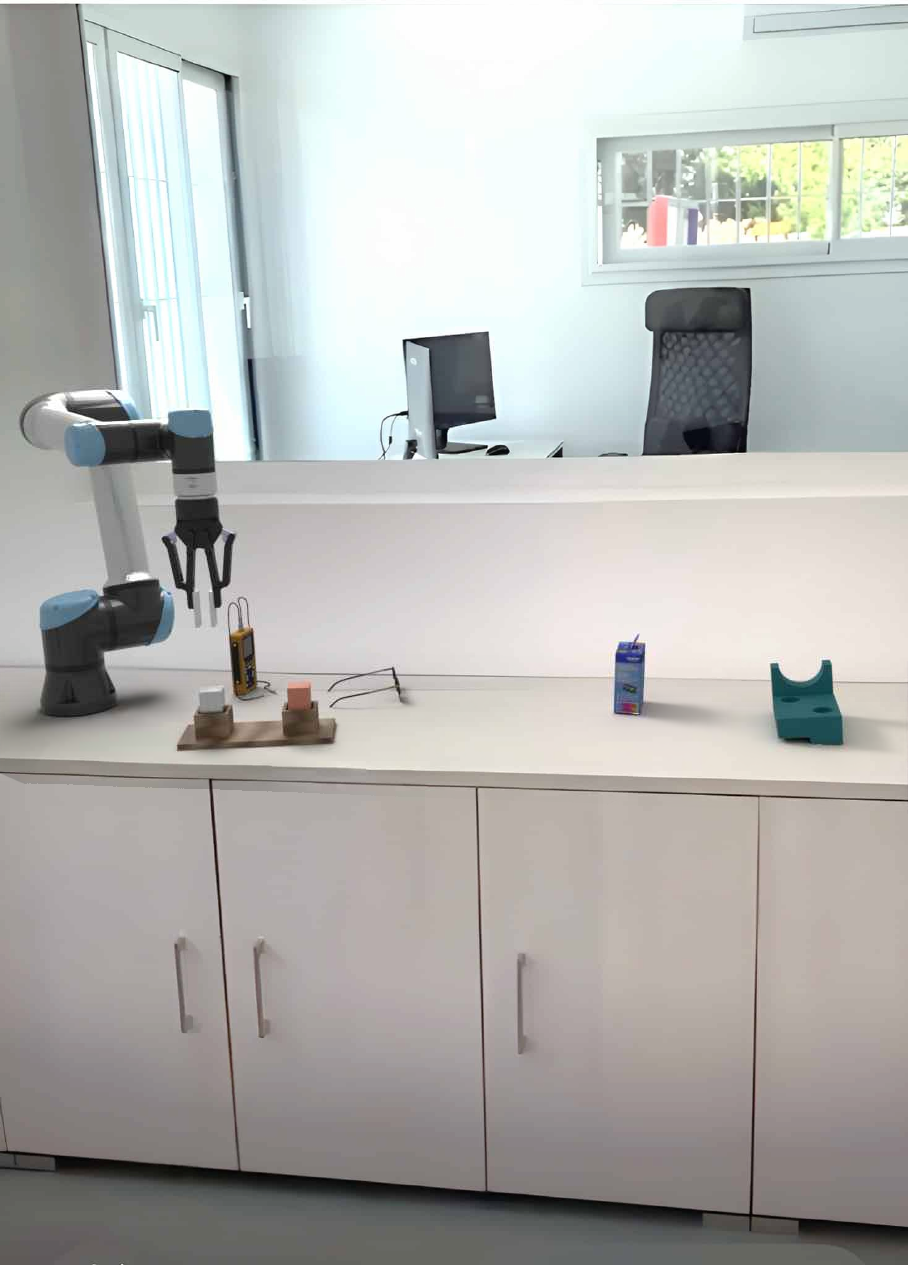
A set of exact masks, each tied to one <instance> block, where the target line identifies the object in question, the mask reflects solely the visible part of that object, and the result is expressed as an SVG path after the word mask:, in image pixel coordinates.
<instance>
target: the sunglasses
mask: <svg viewBox="0 0 908 1265" xmlns="http://www.w3.org/2000/svg"><path fill="white" fill-rule="evenodd" d="M388 671H392V678H393V680H394V685H391V686H388V687H384V688H380V689H376V690H373V691H372V690H371V691H366V692H362V693H356V694H350V695H347V696H343V697H340V698H337V699H336V700H335V701H334V702H333V703H332V704H330V705H329V708H332V707H333V706H335V705H336V703H337V702H339V701H341V700H345V699H349V698H354V697H358V696H365V695H369V694H373V693H374V694H375V693H378V692H382V691H386V690H390V689H391V690H392V689H395V690H396V692H397V694H398V698H399V702H402V699H401V698H402V697H401V694H402V693H401V687H400V686H401V685H400V681H399V678H398V677H397V673H396V669H395V667H394V666H391V667H388V668H384V669H379V670H375V671H371V672H367V673H363V674H358V675H355V676H351V677H347V678H344V679H341V680H338V681H335V682H334V684H332V685H331V686H330V687H329V689H328V690H327V691H326V693H330V691H331V690H333V688H334V687H335V686H336V685H338V684H339V683H342V682H345V681H347V680H351V679H355V678H356V679H357V678H360V677H364V676H367V675H372V674H377V673H381V672H388Z"/></svg>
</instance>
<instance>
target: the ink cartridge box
mask: <svg viewBox="0 0 908 1265" xmlns="http://www.w3.org/2000/svg"><path fill="white" fill-rule="evenodd" d="M639 637H640V633H638V634H637V635H635V638H634V640H633V641H619V642H618V645H617V649H616V651H615V654H614V656H615V657H614V680H613V682H614V683H613V686H614V687H613V688H614V689H613V713H614V714H616V713H617V714H626V713H640V712H641V713H642V710H641V708H643V706H642V705H644V702H643V701H644V692H645V691H644V690H645V672H646V671H645V669H646V668H645V667H646V666H645V665H646V642H641V641H640V642H639V641H638V639H639ZM641 713H640V714H641Z"/></svg>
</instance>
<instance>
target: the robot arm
mask: <svg viewBox="0 0 908 1265" xmlns="http://www.w3.org/2000/svg"><path fill="white" fill-rule="evenodd" d="M211 415H212V413H211V412H210V409H208V408H205V407H186V408H185V407H184V408H174V409H173V408H172V409H170V410H169V411H168V413H167V417H156V418H154V419H141V416H140V413H139V410H138V408H137V406H136V403H135V402H134V400H133V399H132V398H131V397H130V395H129V394H128V393H126V392H125V391H123V390H114V389H113V390H111V389H110V390H109V389H97V390H96V389H94V390H77V391H53V392H48V393H44V394H41V395H39V396H36V397H35V398H32V400H30V401H28V402H27V404H26V405H24V407H23V409H22V410H21V412H20V415H19V420H18V425H19V430H20V432H21V435H22V436H23V438H24V440H25V441H26V442H27V443H28V444H30V445H32V446H33V447H35V448H38V449H41V450H43V451H54V450H58V451H60V452H63V453H65V455H66V457H67V459H68V460H69V462H70V464H71V465H73V467H79V468H80V467H81V468H82V467H86V468H87V469H88V474H89V479H90V484H91V491H92V495H93V501H94V508H95V512H96V518H97V523H98V529H99V534H100V540H101V544H102V546H101V547H102V550H103V555H104V556H103V557H104V562H105V569H106V572H107V580H106V581H105V583H104V584H103V586H102V588H101V589H102V592H103V595H99V594H98V592H97V591H96V590H93V589H81V590H74V591H69V592H64V593H61V594H58V595H55V596H52V597H50V598H48V599H46V600H45V601H44V602H42V603H41V605H40V607H39V624H38V625H39V628H40V633H41V641H42V642H41V643H42V650H43V657H44V658H43V660H44V667H45V677H44V681H43V685H42V689H41V694H40V699H39V703H40V711H41V713H43V714H45V715H49V716H55V717H73V716H74V717H75V716H76V717H77V716H83V715H91V714H95V713H100V712H103V711H106V710H108V709H111V708H113V707H115V706H116V705H117V704H118V692H117V689H116V687H115V685H114V683H113V681H112V679H111V676H110V674H109V672H108V670H107V668H106V663H105V662H106V660H105V653H107V652H109V653H110V652H115V651H120V650H128V649H133V648H139V647H140V648H141V647H148V646H151V645H154V644H159V643H163V642H165V641H167V639H169V637H170V636H171V633H172V631H173V629H174V628H173V627H174V624H175V603H174V598H173V596H172V593H171V591H170V589H169V588H168V587H165V586H161V584H160V579H159V577H158V576H156V575H154V574H153V573H152V572H151V571H150V565H149V564H150V563H149V559H148V553H147V548H146V544H145V543H146V542H145V536H144V532H143V531H144V530H143V527H142V521H141V516H140V510H139V505H138V503H139V502H138V498H137V493H136V492H137V491H136V489H135V488H136V487H135V483H134V481H135V480H134V476H133V471H132V466H131V464H136V463H137V464H141V463H151V462H152V463H154V462H166V461H170V462H171V473H172V483H173V484H172V485H173V494H174V496H175V497H176V499H175V500H174V506H175V507H174V508H175V517H176V520H175V522H176V523H175V525H174V528H173V531H171V532H169V533H166V534H164V535H163V536H162V537H161V541H162V543H163V545H164V546H165V549H167V550H166V551H167V555H168V560H169V564H170V568H171V574H172V576H173V582H174V587H175V588H176V589H177V590H183V591H185V593H186V600H187V601H186V603H187V604H186V605H187V607H188V609H189V610H193V615H194V627H195V629H196V628H198V629H199V628H200V627H201V626H202V625H203V622H202V621H203V620H202V610H201V596H200V589H195V588H196V561H197V560H196V559H197V558H196V553H197V550H198V549H203V550H204V554H205V558H206V562H207V568H208V572H209V573H208V574H209V578H210V583H211V589H209V591H208V603H209V616H210V628H216V627H217V626H218V624H219V623H218V613H217V612H218V611H217V609H218V608H219V609H220V608H221V607H222V605H223V601H222V589H224V588H227V587H228V586H229V585H230V584H231V580H232V577H231V576H232V562H233V549H234V548H233V546H234V542H235V541H236V537H237V534H238V533H237V532H236V531H230V530H229V529H225V528H224V527H223V524H222V523H221V519H220V512H219V510H220V508H219V498H218V497H217V496H215V495H216V494H217V493H218V483H217V470H216V459H215V458H216V457H215V445H214V444H215V443H214V427H213V422H212V416H211ZM220 536H222V538H221V539H222V542H223V543H224V546H223V547H224V548H223V558H222V560H223V561H222V562H223V563H222V574H221V575H222V578H220V574H219V568H218V563H217V557H216V553H215V543H216V542H217V540H218V539H219V537H220ZM177 537H178V538H179V540H180V541H181V542H182V543H183V545H184V546H185V548H186V549H185V550H186V551H185V553H186V561H185V562H186V566H185V568H186V569H185V571H186V572H185V580H184V575H183V569H182V566H181V561H180V556H179V553H178V548H177V545H176V543H178V539H177ZM220 579H221V580H220Z"/></svg>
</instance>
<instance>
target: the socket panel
mask: <svg viewBox="0 0 908 1265" xmlns="http://www.w3.org/2000/svg"><path fill="white" fill-rule="evenodd" d="M311 702H312V709H305V710H288V701H284V703H283V706H282V709H281V720H260V721H257V720H256V721H240V722H237V721H236V722H234V708H233V704H232V703H230V704H229V703H228V704H226V703H225V704H226V712H225V713H214V714H201V712H200V705H198V706H197V709H196V711H195V712H194V714H193V721H194V722H193V724H192V723H190V724H189V723H188V724H187V726H186V728H185V729H184V731H183V732H182V735H181V736H180V739H179V740H178V742H177V744H176V750H177V751H179V750H181V751H182V750H183V751H184V750H201V749H202V750H204V749H205V750H206V749H225V748H226V749H227V748H245V747H247V748H249V747H267V746H270V747H271V746H288V745H290V746H291V745H296V746H297V745H313V744H315V745H316V744H333V742H334V734H335V728H336V717H327V718H326V717H325V718H319V716H320V715H319V700H318V699H317V700H311Z"/></svg>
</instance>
